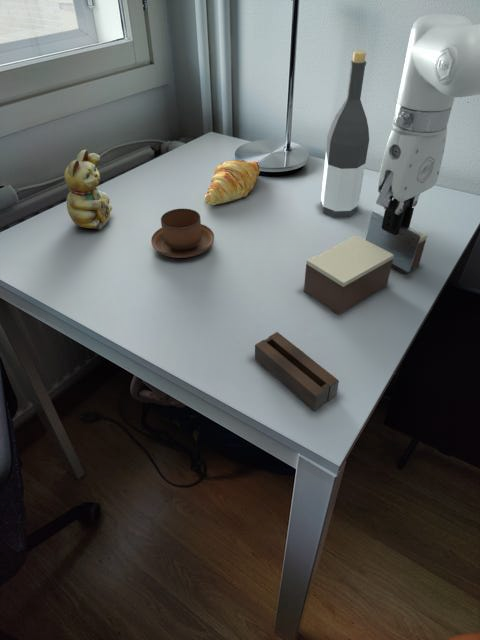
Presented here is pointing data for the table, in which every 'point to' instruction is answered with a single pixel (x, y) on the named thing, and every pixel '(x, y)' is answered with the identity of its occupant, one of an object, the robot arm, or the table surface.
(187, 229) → the cup and saucer
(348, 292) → the cake
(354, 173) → the wine bottle
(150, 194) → the table surface
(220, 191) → the croissant
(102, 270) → the table surface
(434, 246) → the table surface
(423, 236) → the cake slice
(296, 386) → the knife stand
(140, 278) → the table surface
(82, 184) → the decorative figurine
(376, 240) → the metal dough scraper
